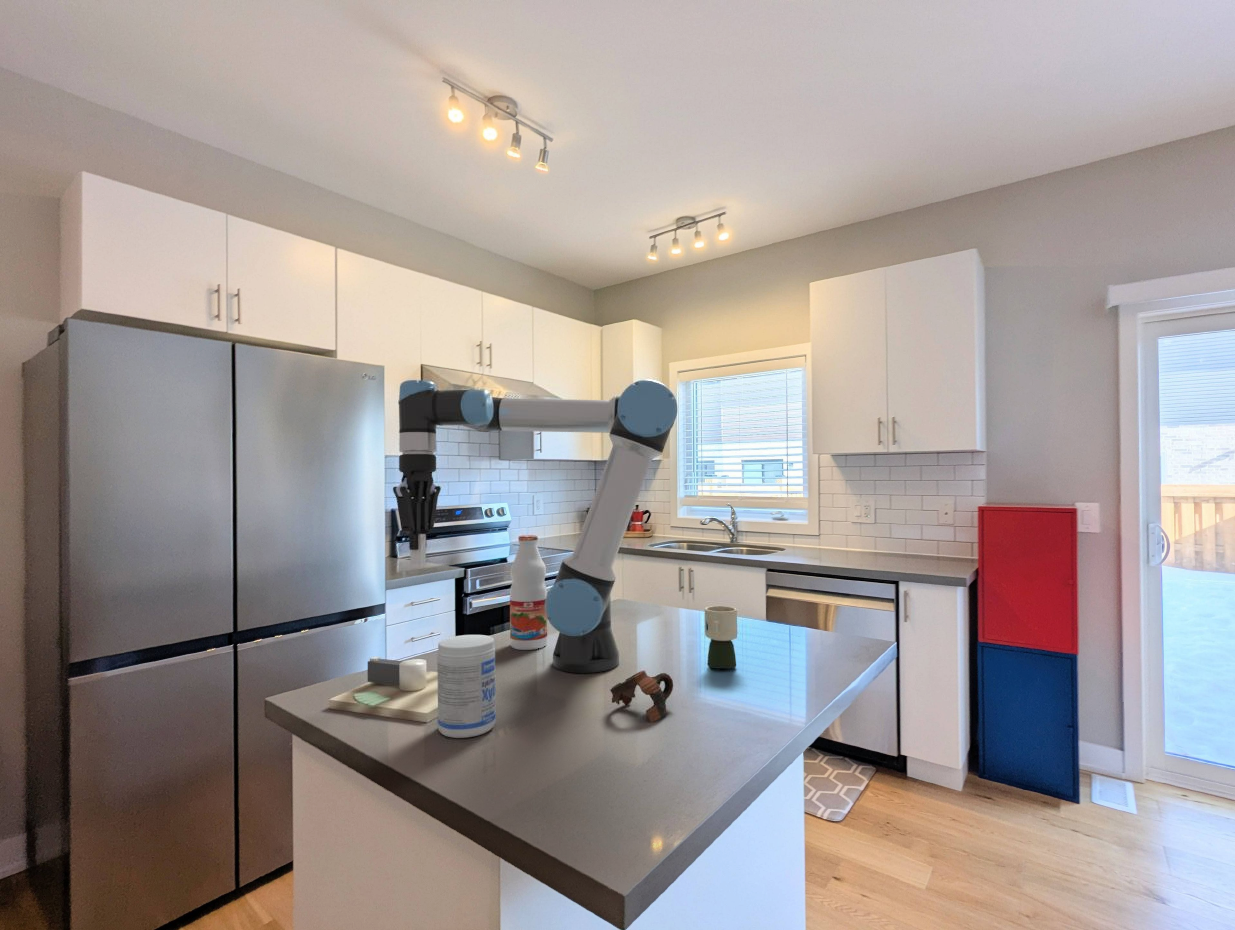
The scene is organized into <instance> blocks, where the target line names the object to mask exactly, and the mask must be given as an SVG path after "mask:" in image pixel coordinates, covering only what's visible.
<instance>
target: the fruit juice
mask: <svg viewBox="0 0 1235 930" xmlns="http://www.w3.org/2000/svg"><path fill="white" fill-rule="evenodd" d="M538 539H539V537H538V535H535V534H526V535H519V536H518V539H517V541H518V543H519V545H518V549H517V552H516V554H515V558H514V560H513V562H512V564H511V566H510V569H509V571H510V572H509V573H510V577H511V581H512V583H511V586H510V589H509V630H510V633H509V635H510V636H509V638H510V639H509V641H510V646H511V648H513V649H515V650H520V651H532V650H538V648H539V649H542V648H544V646H545V647H546V646H547V644H548V618H547V616H546V612H545V601H546V596H547V593H548V590H547V585H546V582H545V578H546V576H547V575H546V574H547V567H546V564H545V562H544V561H543V559H542V556H541V553H540V550H539V547H538Z"/></svg>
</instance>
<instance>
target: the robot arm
mask: <svg viewBox="0 0 1235 930" xmlns="http://www.w3.org/2000/svg"><path fill="white" fill-rule="evenodd" d="M398 397H399V398H398V403H397V404H398V423H399V425H398V426H399V427H398V428H399V430H398V433H399V439H398V441H399V443H398V444H399V449H398V450H399V452H400V453H402V454H400V455H399V456H398V471H399V472H400V473H402V476H401V483H400V484H399V485H398V486H393V488H392V492H393V494H394V496H395V498H396V504H397V509H398V510H397V511H398V517H399V523H400V529H401V532H403V533H404V534H405V535H408V538H409V539H408V540H409V541H408V543H409V545H408V549H409V550H410V551H409V553H410V555H409V556H410V558H409V561H410V562H409V564H410V566H418V567H419V566H420V567H422V566H426V564H427V563H426V562H427V560H426V557H427V556H426V555H427V553H426V552H427V551H426V550H427V535H428V534H432V530H433V529H434V528H435V521H436V514H437V513H436V511H437V505H438V499H439V498H438V497H439V495H440V492H441V490H442V487H441V486H440V485H436V484H435V483H434V478H433V477H434V476H433V473H435V472H436V471H437V456H436V455H435V454H434V453H436V452H437V426H439V427H440V426H463V427H466V428H469V429H472V430H475V431H476V432H483V433H488V432H494V431H496V432H497V431H498V432H501V431H502V432H503V431H506V432H509V431H510V432H548V433H549V432H550V433H590V434H591V433H594V434H595V433H596V434H604V433H605V434H608V436H609V438H610V441H611V443H612V447H611V449H610V452H609V456H608V458H607V460H606V464H605V466H604V469H603V472H602V474H601V477H600V480H599V482H598V485H597V487H596V491H595V494H594V496H593V499H592V502H591V504H590V507H589V509H588V512H587V515H586V518H585V521H584V523H583V525H582V529H581V531H580V533H579V537H578V539H577V543H576V544H575V547H574V551H573V553H572V554H570V555H568V556H566V557H563V559H562V562H561V564H560V566H559V570H558V572H557V574H556V577H555V581H554V583H553V585H552V586H551V587H550V589H549V590H547V596H546V601H545V612H546V616H547V621H548V622H549V624H550V625H551V626H552V627H553V628H554V629H555V630H556V631H557V632H558V633H559V634H558V637H557V640H556V643H555V647H554V650H553V653H552V666H553V667H554V669H556V670H559V671H563V672H566V673H573V674H593V673H600V672H605V671H608V670H611V669H614V668H616V667H617V666H618V665H619V664H620V654H619V653H620V651H619V649H618V647H617V643H616V640H615V637H614V633H613V629H612V616H611V615H612V612H611V611H612V609H611V607H612V606H611V605H612V604H611V600H612V599H611V593H612V590H613V588H614V584H615V582H616V580H617V577H616V575H615V573H614V570H613V565H614V564H615V560H616V558H617V556H618V553H619V550H620V547H621V544H622V541H623V539H624V536H625V534H626V532H627V528H628V526H629V523H630V520H631V518H632V515H633V512H634V509H635V506H636V503H637V501H638V498H639V495H640V493H641V490H642V487H643V485H644V483H645V480H646V476H647V474H648V472H649V469H650V466H651V462H652V461H653V460H654V459H656V458H657V457H660V456H661V455H662V454H663V452H664V449H665V447H666V444H667V440H668V438H669V436H670V434H671V433H670V432H671V430H672V428H673V427H674V425H675V420H676V419H677V415H678V402H677V399H676V396H675V394H674V393H673V392H672V391H671V390H670V388H668V386H666V385H665V384H664V383H662V382H660V381H658V380H653V379H641V380H637V381H634V382H633V383H631V384H630V385H628V386H627V387H626V388H625V389H624V390H623V392H622V393H621V395H614V396H612V398H611V399H561V398H560V399H559V398H558V399H557V398H555V399H554V398H553V399H552V398H548V399H547V398H540V399H539V398H496V397H495V398H493V397H492V395H491V393H490V392H489V390H486V389H476V388H470V389H447V390H442V389H441V390H440V389H437V386H436V383H435V382H433V381H431V380H424V379H421V380H420V379H409V380H404V381H403V382H401V383H400V385H399V395H398Z"/></svg>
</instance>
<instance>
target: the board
mask: <svg viewBox="0 0 1235 930" xmlns="http://www.w3.org/2000/svg"><path fill="white" fill-rule="evenodd" d="M372 691H377V693H378V694H379V695H381V696H384V697H388V698H391V700H389V701H386V702H384V703H382V704H379V705H377V706H375V707H371V706H367V705H363V704H361V703H359V702H357V701H356V700H355V698H354V694H358V693H365V692H372ZM328 709H332V710H339V711H346V712H353V713H359V714H367V715H373V716H374V715H375V716H379V717H380V716H381V717H387V718H394V719H399V720H400V719H402V720H408V721H415V722H423V723H429V722H431V721H432V720H434V719H436V718H438V671H431V670H430V671H429V670H426V687H424V688H422V689H419V690H415V691H403V690H400V689H399V686H396V685H388V684H380V683H372V682H368V681H367V682H366V683H363V684H361V685H359V686H356V687H355V688H352V689H350V690H348V691H345V692H342V693H341V694H338V695H337V696H333V697H332V698H330V699H329V698H328Z"/></svg>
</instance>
